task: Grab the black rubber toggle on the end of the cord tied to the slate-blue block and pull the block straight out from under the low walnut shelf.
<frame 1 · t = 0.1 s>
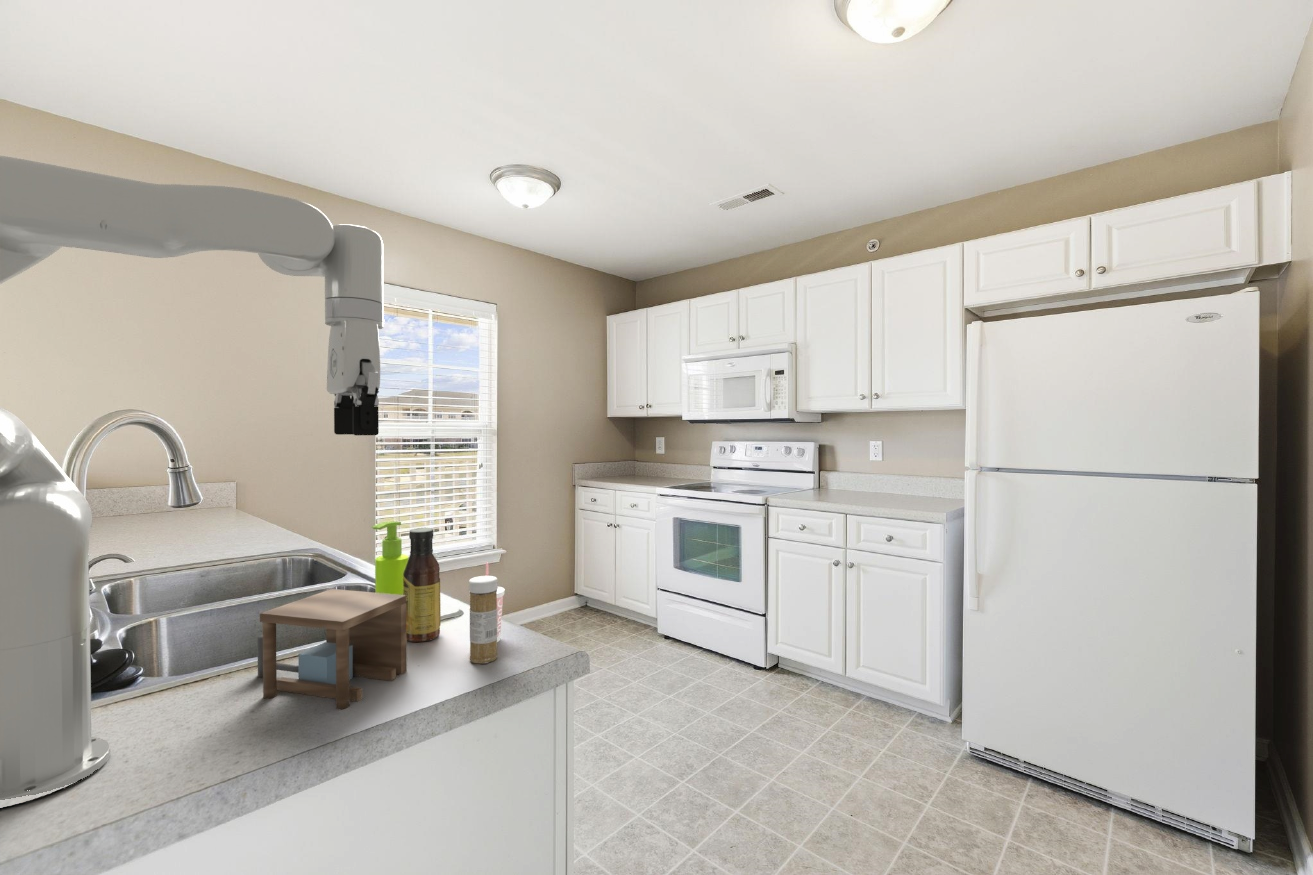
hand: (355, 434, 85), 37 cm above the worktop, tool pointing down, fingers open, 9 cm apart
soap dispenser: (390, 626, 114), on the worktop
sprinkles bottle: (483, 660, 98), on the worktop
beverage cup: (487, 641, 106), on the worktop
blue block: (326, 682, 89), on the worktop
walnut shelf: (337, 683, 88), on the worktop
sauce bottle: (422, 638, 107), on the worktop
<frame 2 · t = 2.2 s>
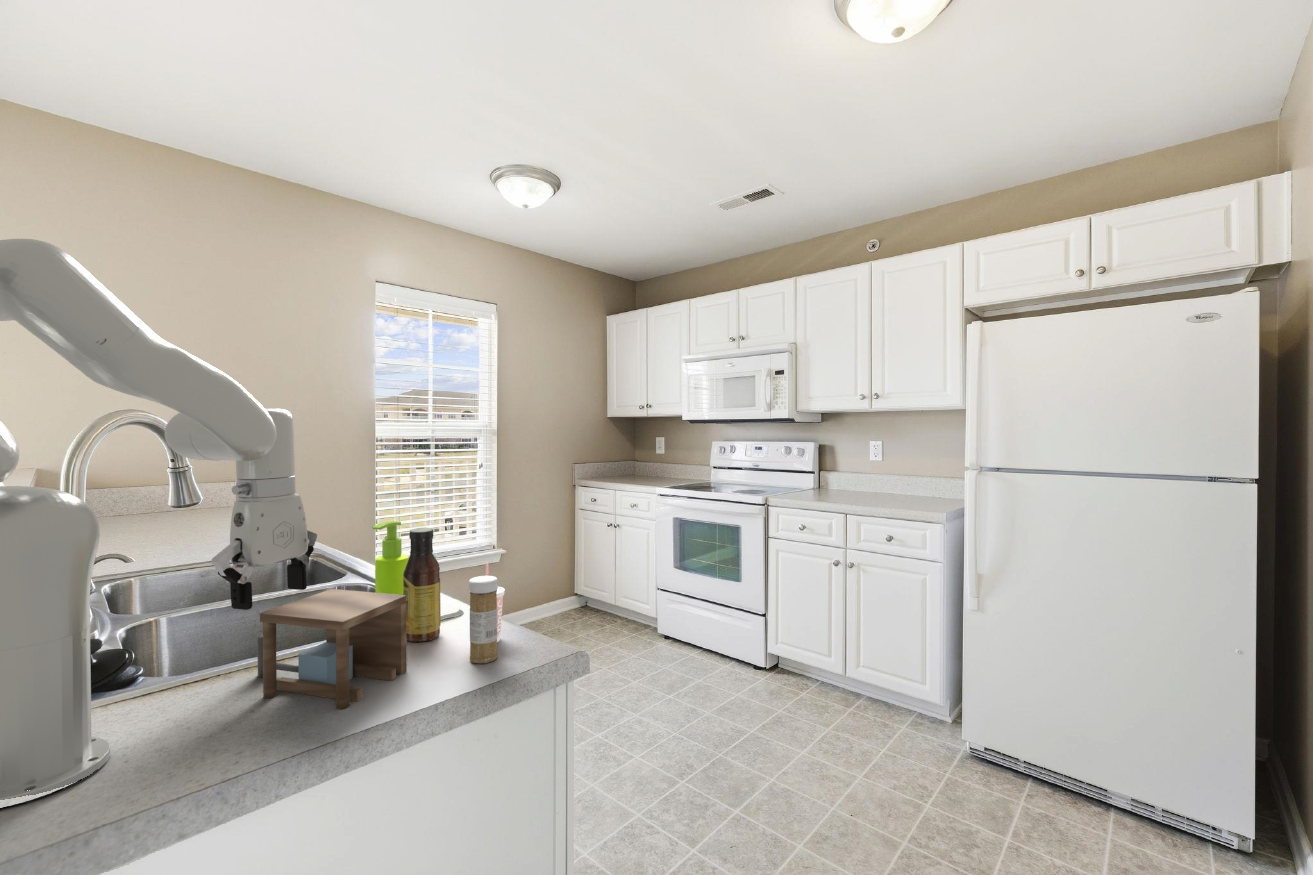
hand: (271, 598, 92), 12 cm above the worktop, tool pointing down, fingers open, 9 cm apart
nothing on the worktop moved.
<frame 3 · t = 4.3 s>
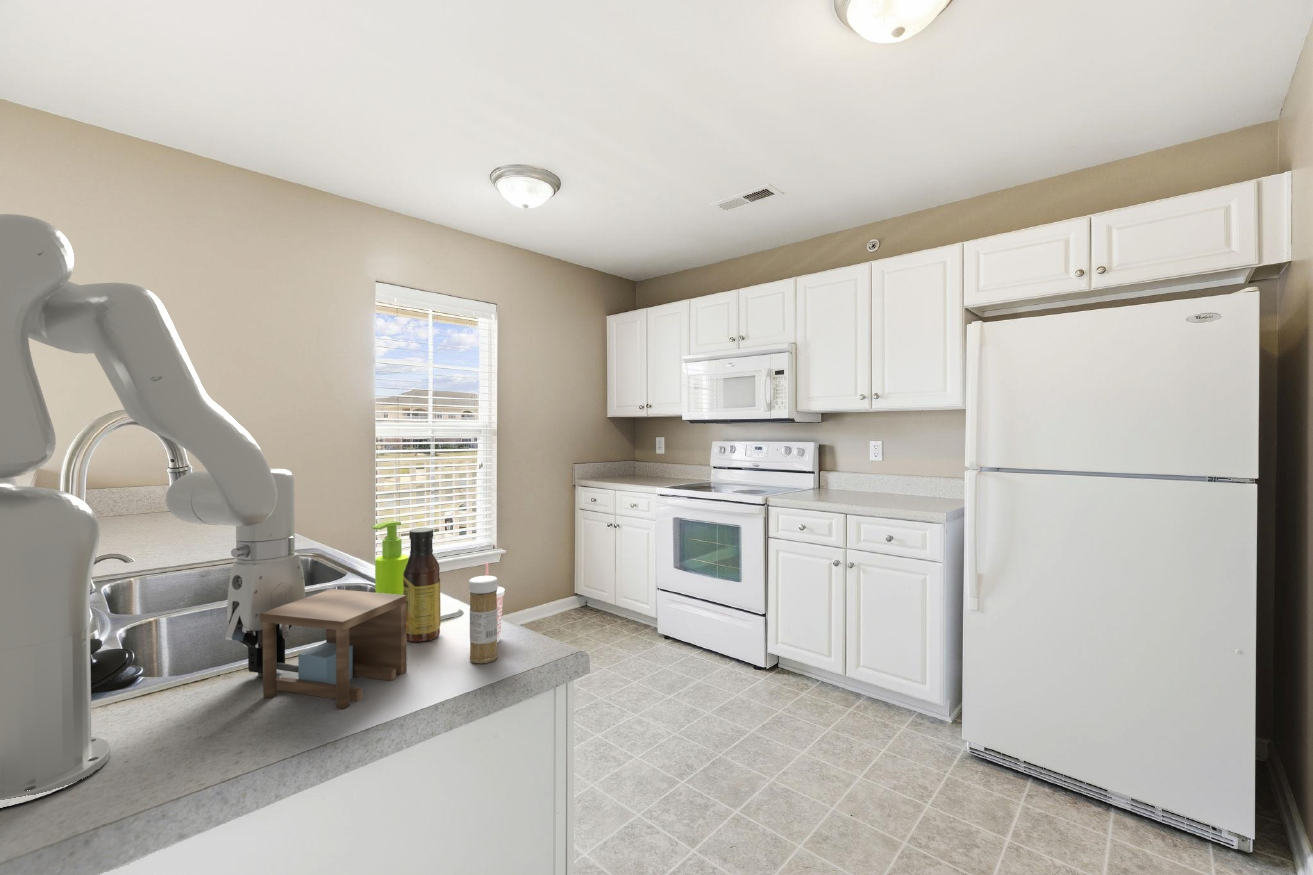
hand: (267, 666, 91), 1 cm above the worktop, tool pointing down, fingers closed on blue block
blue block: (325, 682, 89), on the worktop, touching gripper
everything else where it was.
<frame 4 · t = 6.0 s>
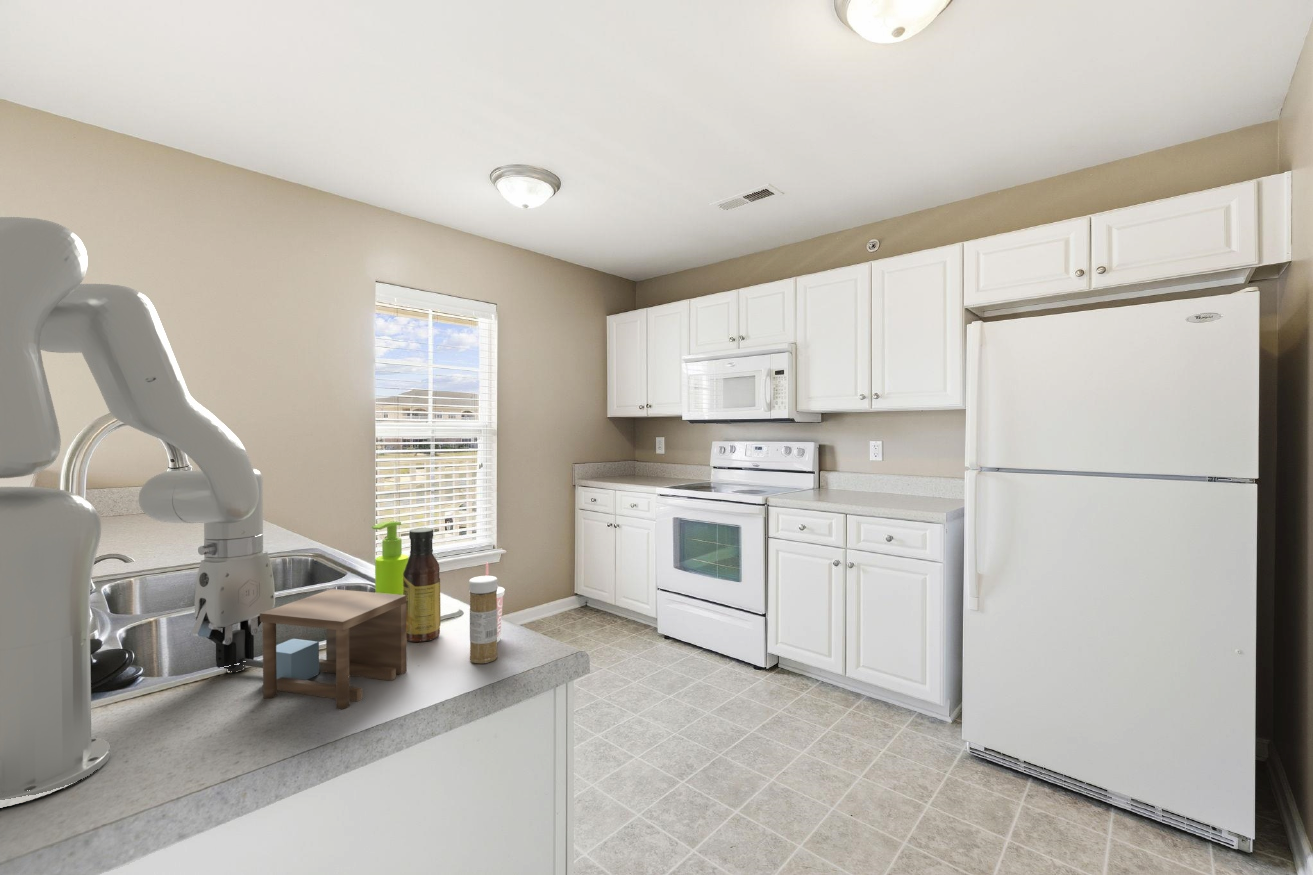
hand: (235, 663, 93), 1 cm above the worktop, tool pointing down, fingers closed on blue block
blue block: (292, 678, 90), on the worktop, touching gripper
everything else where it was.
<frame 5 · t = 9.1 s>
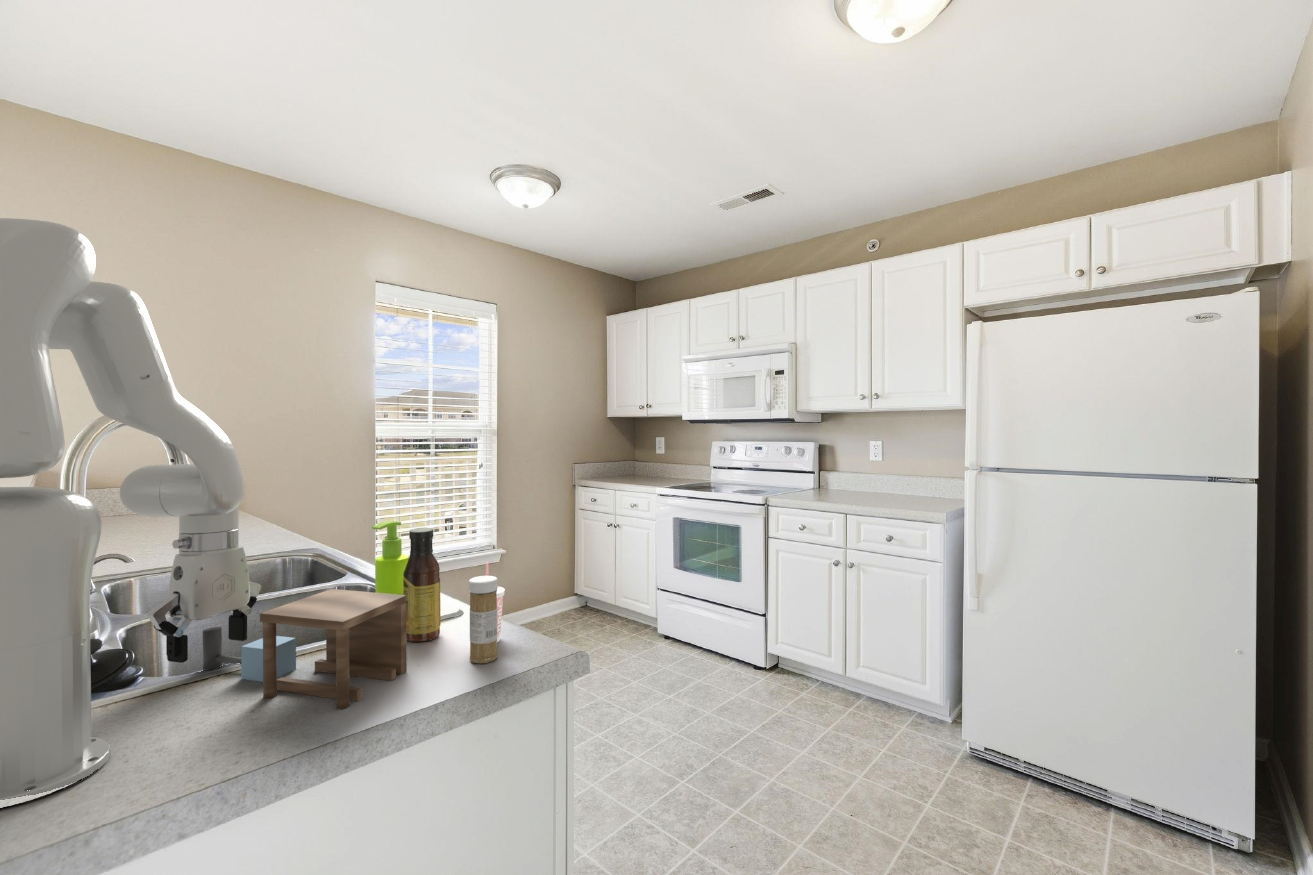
hand: (209, 650, 93), 3 cm above the worktop, tool pointing down, fingers open, 9 cm apart
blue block: (269, 674, 91), on the worktop
everything else where it was.
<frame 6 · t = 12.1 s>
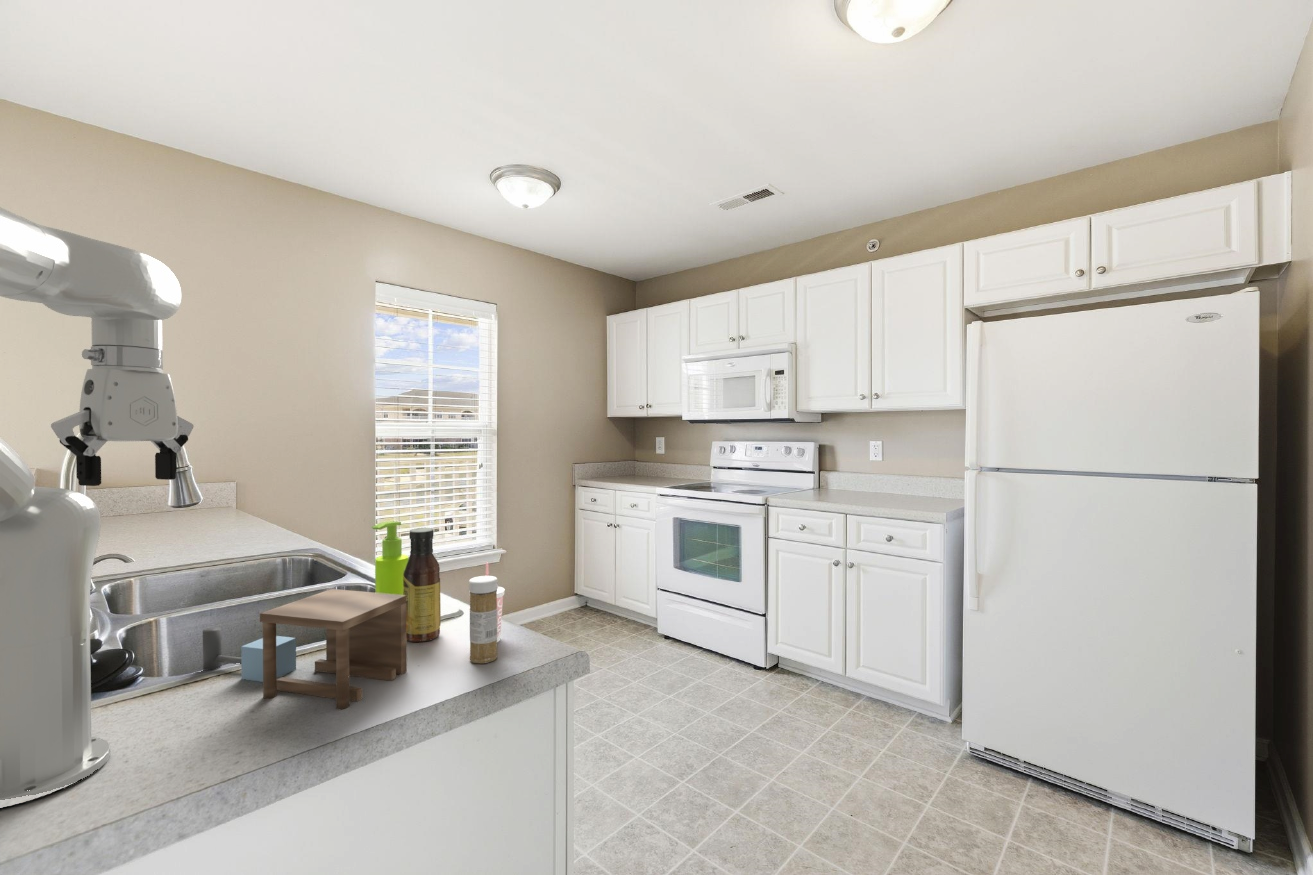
hand: (129, 482, 84), 30 cm above the worktop, tool pointing down, fingers open, 9 cm apart
nothing on the worktop moved.
at the end: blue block inside the target area (2.1 cm from its centre), on the worktop; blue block tilted 0°; the gripper is holding nothing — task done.
